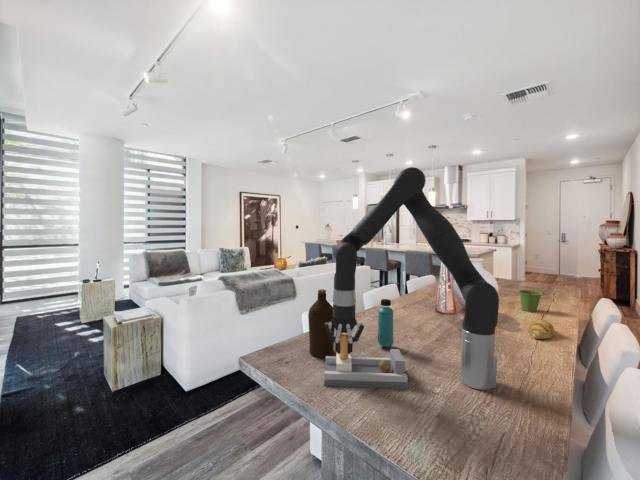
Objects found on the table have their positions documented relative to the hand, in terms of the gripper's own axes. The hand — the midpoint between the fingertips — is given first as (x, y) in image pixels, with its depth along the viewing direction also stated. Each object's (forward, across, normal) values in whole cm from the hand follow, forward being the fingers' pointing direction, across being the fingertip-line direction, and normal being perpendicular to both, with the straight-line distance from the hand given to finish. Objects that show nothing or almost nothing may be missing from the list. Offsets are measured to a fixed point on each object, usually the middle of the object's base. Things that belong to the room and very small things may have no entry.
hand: (343, 352), depth 100 cm
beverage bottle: (+8, -18, -24) cm, 31 cm away
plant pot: (+8, -113, -84) cm, 141 cm away
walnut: (+6, -14, 0) cm, 15 cm away
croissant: (+8, -93, -44) cm, 103 cm away
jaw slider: (+6, 0, 0) cm, 6 cm away
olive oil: (+8, +8, -17) cm, 20 cm away
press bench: (+8, -7, 0) cm, 10 cm away
